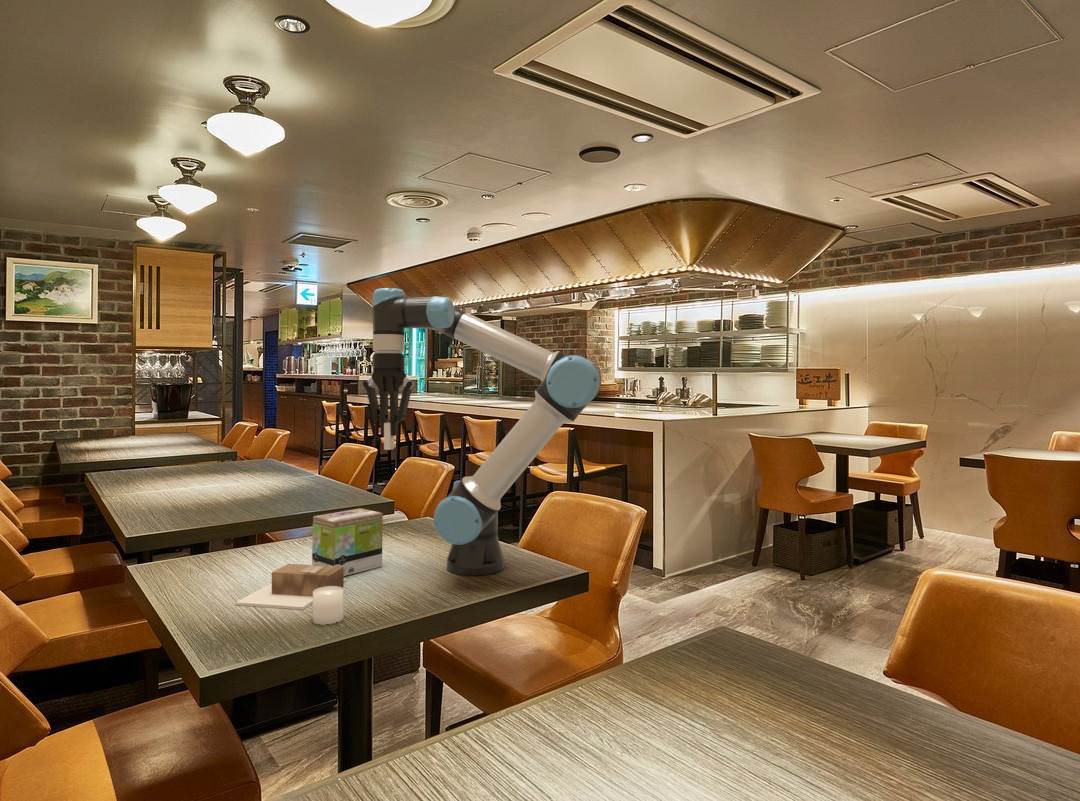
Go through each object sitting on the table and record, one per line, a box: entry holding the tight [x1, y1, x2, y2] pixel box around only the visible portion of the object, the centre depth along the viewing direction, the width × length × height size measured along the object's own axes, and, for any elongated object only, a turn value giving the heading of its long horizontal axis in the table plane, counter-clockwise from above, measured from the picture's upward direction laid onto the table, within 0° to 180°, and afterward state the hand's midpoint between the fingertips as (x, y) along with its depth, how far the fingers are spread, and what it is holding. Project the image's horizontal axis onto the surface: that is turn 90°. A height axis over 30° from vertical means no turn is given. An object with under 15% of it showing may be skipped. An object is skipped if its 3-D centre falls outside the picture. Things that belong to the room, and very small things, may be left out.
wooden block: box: [271, 563, 345, 597], centre depth 150 cm, size 5×7×14 cm
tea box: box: [311, 507, 384, 577], centre depth 168 cm, size 15×10×15 cm, turn 143°
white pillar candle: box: [312, 586, 345, 626], centre depth 134 cm, size 6×6×6 cm
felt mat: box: [235, 578, 347, 611], centre depth 150 cm, size 16×20×1 cm
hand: (389, 449), depth 159 cm, fingers closed
